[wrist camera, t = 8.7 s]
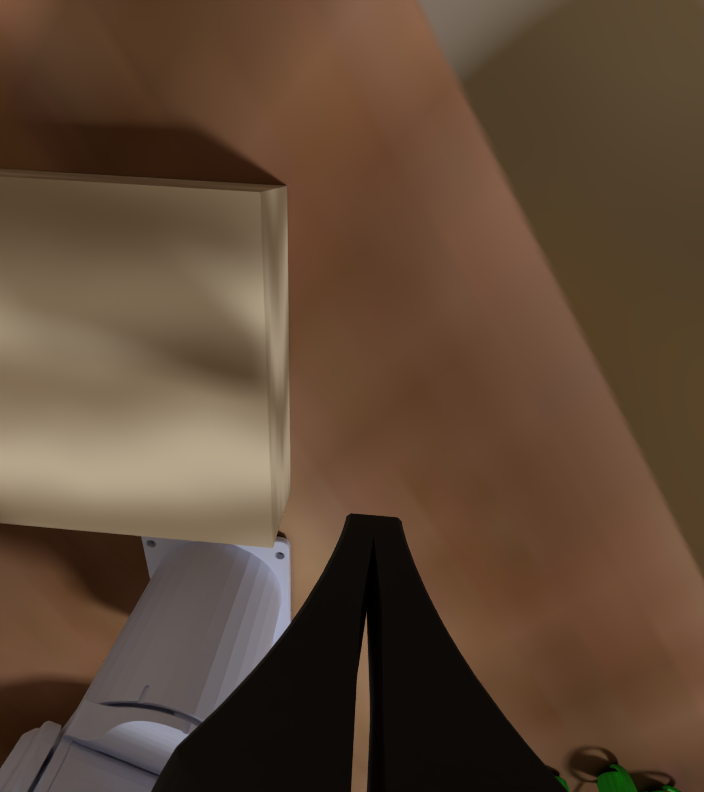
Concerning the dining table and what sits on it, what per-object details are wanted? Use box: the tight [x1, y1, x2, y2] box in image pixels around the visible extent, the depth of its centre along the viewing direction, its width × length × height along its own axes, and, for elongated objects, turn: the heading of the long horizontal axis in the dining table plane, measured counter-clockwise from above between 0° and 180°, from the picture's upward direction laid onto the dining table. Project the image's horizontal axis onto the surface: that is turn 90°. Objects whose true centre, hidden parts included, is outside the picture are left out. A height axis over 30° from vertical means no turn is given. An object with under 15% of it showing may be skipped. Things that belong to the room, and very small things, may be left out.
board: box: [0, 169, 290, 548], centre depth 19 cm, size 14×14×4 cm
